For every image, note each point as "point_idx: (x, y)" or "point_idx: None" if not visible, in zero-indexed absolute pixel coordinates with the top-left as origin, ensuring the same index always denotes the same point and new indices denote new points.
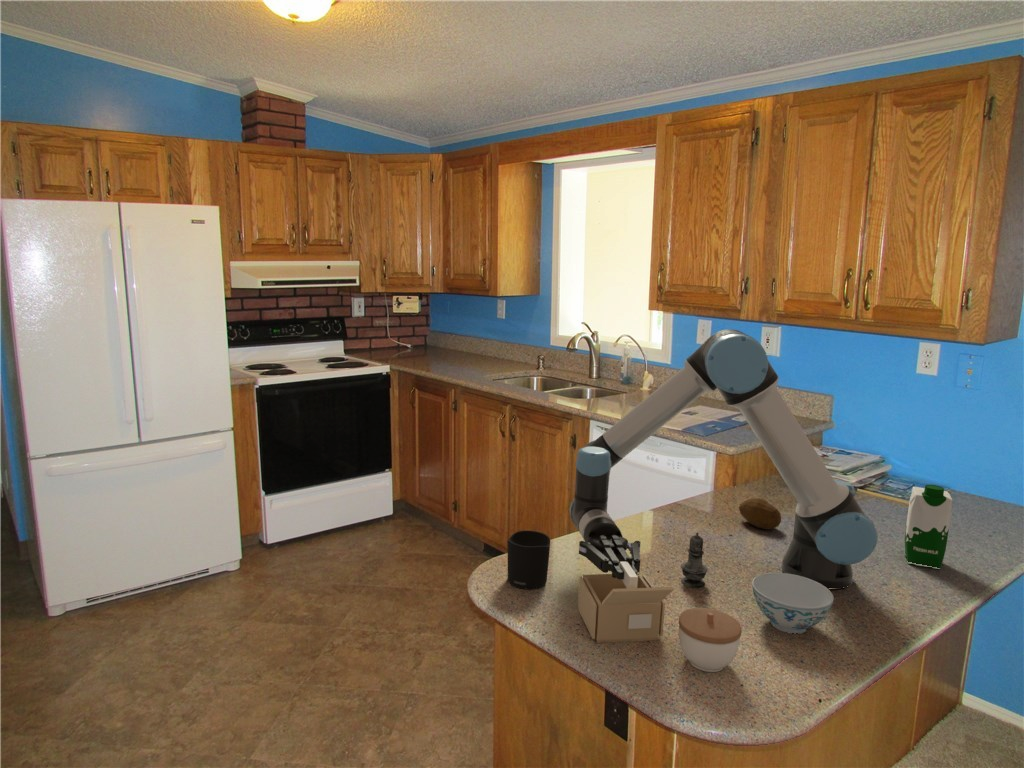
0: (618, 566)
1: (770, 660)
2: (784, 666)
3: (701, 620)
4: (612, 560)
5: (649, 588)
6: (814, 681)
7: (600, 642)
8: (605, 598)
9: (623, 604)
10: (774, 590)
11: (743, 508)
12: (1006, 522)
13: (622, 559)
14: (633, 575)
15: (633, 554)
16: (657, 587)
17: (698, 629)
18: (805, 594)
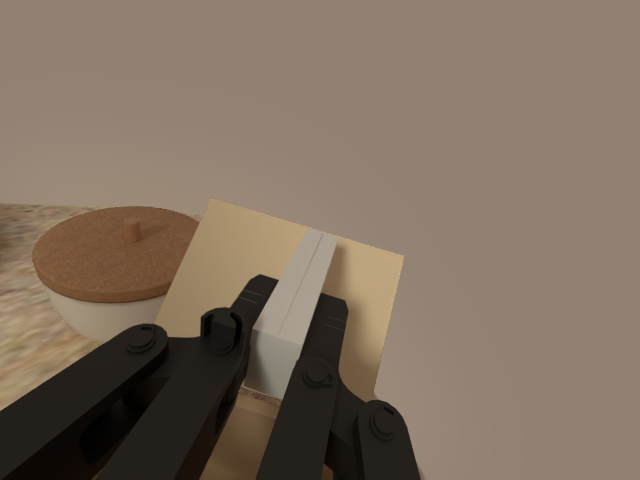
0: (317, 344)
1: (17, 271)
2: (24, 254)
3: (146, 247)
4: (336, 391)
5: (287, 221)
6: (46, 224)
7: None
8: (379, 363)
9: (274, 406)
10: None
11: None
12: None
13: (195, 456)
14: (317, 239)
15: (59, 432)
16: (260, 213)
17: (192, 236)
18: None
